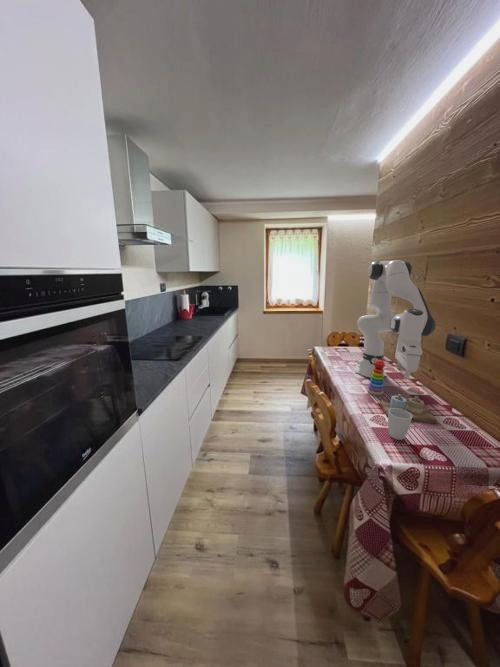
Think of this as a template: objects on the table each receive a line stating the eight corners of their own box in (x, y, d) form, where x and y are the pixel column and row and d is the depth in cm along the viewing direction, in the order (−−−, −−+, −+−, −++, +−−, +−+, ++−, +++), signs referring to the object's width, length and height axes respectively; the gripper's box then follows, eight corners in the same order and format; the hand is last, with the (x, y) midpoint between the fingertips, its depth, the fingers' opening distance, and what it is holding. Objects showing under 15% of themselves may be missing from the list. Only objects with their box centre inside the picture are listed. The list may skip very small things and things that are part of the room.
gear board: (379, 402, 133) (382, 387, 132) (424, 408, 129) (427, 392, 127) (386, 416, 120) (389, 399, 118) (436, 423, 116) (440, 405, 114)
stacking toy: (384, 396, 140) (390, 363, 136) (368, 394, 142) (373, 361, 138) (380, 390, 148) (385, 358, 144) (365, 388, 149) (369, 357, 145)
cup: (413, 440, 103) (417, 417, 101) (396, 443, 101) (400, 420, 99) (396, 428, 111) (400, 407, 109) (380, 431, 109) (384, 409, 106)
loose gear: (388, 404, 129) (390, 394, 128) (402, 406, 127) (404, 396, 126) (392, 410, 123) (393, 400, 122) (406, 412, 122) (408, 402, 121)
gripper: (394, 339, 130) (389, 365, 133) (407, 351, 110) (401, 381, 114) (408, 340, 128) (403, 367, 132) (424, 352, 109) (418, 383, 112)
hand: (402, 374), depth 122 cm, fingers open, 8 cm apart
